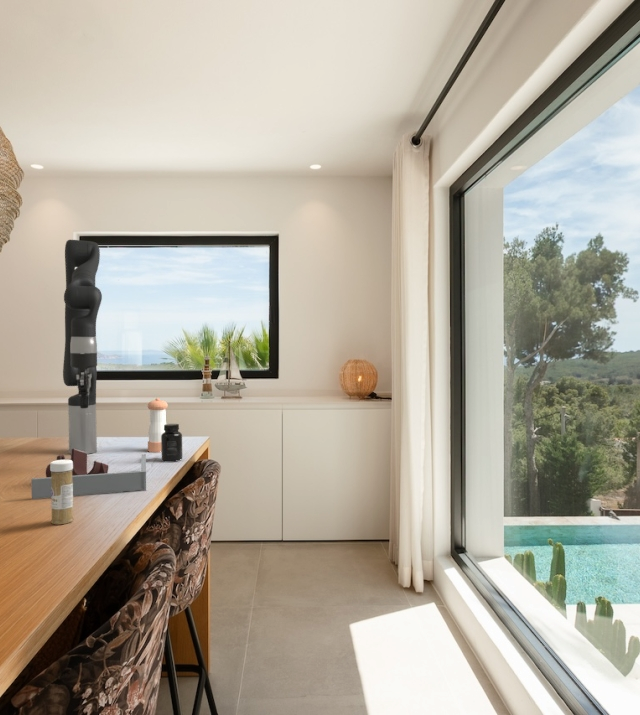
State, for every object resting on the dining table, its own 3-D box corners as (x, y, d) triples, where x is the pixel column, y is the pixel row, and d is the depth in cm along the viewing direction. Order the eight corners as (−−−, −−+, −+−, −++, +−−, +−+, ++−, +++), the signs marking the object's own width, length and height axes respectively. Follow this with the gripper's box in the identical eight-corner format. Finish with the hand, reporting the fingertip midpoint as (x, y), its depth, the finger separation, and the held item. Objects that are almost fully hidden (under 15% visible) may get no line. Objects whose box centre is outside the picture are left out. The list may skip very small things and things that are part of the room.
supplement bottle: (186, 458, 194) (186, 423, 193) (175, 462, 187) (174, 426, 187) (169, 457, 196) (168, 422, 195) (157, 461, 189) (156, 425, 189)
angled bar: (47, 477, 168) (47, 460, 168) (145, 470, 176) (145, 454, 176) (31, 499, 144) (31, 479, 144) (146, 490, 152) (145, 471, 152)
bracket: (100, 478, 154) (100, 442, 158) (44, 489, 156) (45, 454, 160) (113, 482, 160) (112, 447, 163) (58, 492, 162) (59, 458, 166)
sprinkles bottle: (47, 522, 125) (46, 461, 125) (67, 517, 129) (66, 458, 128) (57, 526, 122) (56, 464, 122) (77, 521, 126) (76, 460, 125)
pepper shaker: (168, 451, 206) (167, 398, 205) (147, 452, 204) (146, 399, 203) (168, 448, 213) (168, 397, 212) (148, 449, 211) (147, 397, 211)
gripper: (73, 351, 180) (73, 405, 181) (67, 352, 167) (68, 411, 168) (98, 350, 182) (99, 405, 183) (95, 352, 169) (95, 410, 170)
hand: (84, 408), depth 175 cm, fingers closed
